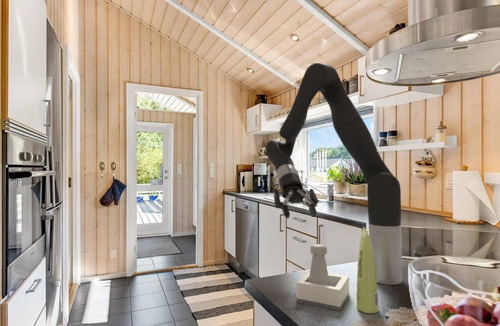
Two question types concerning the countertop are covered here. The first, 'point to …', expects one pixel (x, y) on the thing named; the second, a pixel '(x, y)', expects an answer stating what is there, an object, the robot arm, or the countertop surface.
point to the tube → (366, 277)
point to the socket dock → (323, 292)
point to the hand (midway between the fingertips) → (301, 216)
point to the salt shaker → (318, 265)
